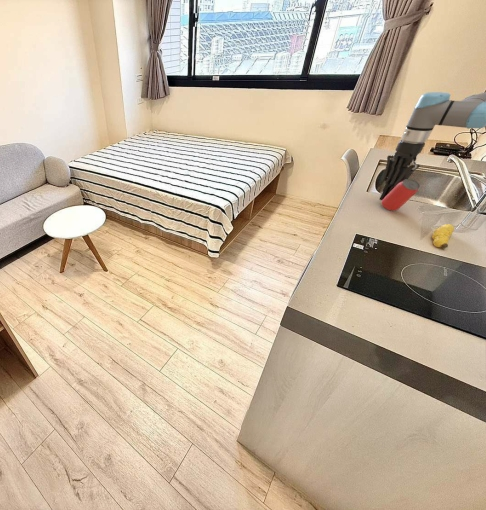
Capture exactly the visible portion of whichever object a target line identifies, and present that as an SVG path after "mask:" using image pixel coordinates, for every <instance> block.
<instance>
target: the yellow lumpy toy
mask: <svg viewBox="0 0 486 510" xmlns="http://www.w3.org/2000/svg"><path fill="white" fill-rule="evenodd" d="M454 231H455V227H454V225H453V224H449V223H446V224H442V225H441V226H439V227H437V228H436V229H435V230H434V231H433V234H432V235H431V238H432V240H433V242H432V243H433V245H434V247H436V248H441V249H446V248H448V247H449V244H448V243H449V241H450V237H451V236H452V234H453V233H454Z"/></svg>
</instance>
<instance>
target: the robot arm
mask: <svg viewBox="0 0 486 510" xmlns="http://www.w3.org/2000/svg"><path fill="white" fill-rule="evenodd" d="M435 126H444V127H453V128H466V129H468V130H469V129H484V128H485V127H486V91H484V92H481V93H478V94H472V95H470V96H467V97H464V98H463V99H461V100H453V99H452V100H451V94H450V93H449V92H442V91H441V92H440V91H431V92H425V93H423V94H422V95H421V96H420V97H419V99H418V101H417V103H416V105H415V107H414V108H413V111H412V113H411V115H410V117H409V119H408V122H407V124H406V125H405V128H404V131H403V133H402V134H401V137H400V139H401V140H399V141H398V143H397V145H396V147H395V152H394V153H393V154H390V155H387V156H386V166H385V169H384V172H383V177H382V181H383V182H384V186H383V188H382V193H381V194H380V196H379V201H382V200H383V199H384V198H385V197H386V196H387V195H388V194H389V192H390V191H391V190H392V189H393V188H394V187H395V186H396V185H397V184H398V183H400V182H401V181H403V180H405V179H410V177H411V176H412V175H413V173H414V172H415V171H416V170H418V169H419V168H420V164H417V162H416V161H417V157H418V155H419V154H421V153H422V151H423V149H424V147H425V145H426V143H425V142H427V141H428V139H429V138H430V136H431V134H432V132H433V130H434V128H435Z"/></svg>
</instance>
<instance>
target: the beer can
mask: <svg viewBox="0 0 486 510" xmlns="http://www.w3.org/2000/svg"><path fill="white" fill-rule="evenodd" d="M420 188H421V186H420V183H419V182H418V181H417V180H415V179H412V178H408V179H405V180H403V181H401V182H400V183H398V184H397V185H396V186H395V187H394V188H393V189H392V190H391V191H390V192H389V194H388V195H387V196H386V197H385V198H384V199H383V200H382V201H381V200H380V201H381V206H382V207H383V208H384V209H385V210H388V211H392V212H393V211H397V210H399V209H401V207H402V206H404V204H406V203H407V202H408V201H409V200H410V199H411V198H413V196H415V195H416V194H417V193H418V191H419V189H420Z"/></svg>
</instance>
